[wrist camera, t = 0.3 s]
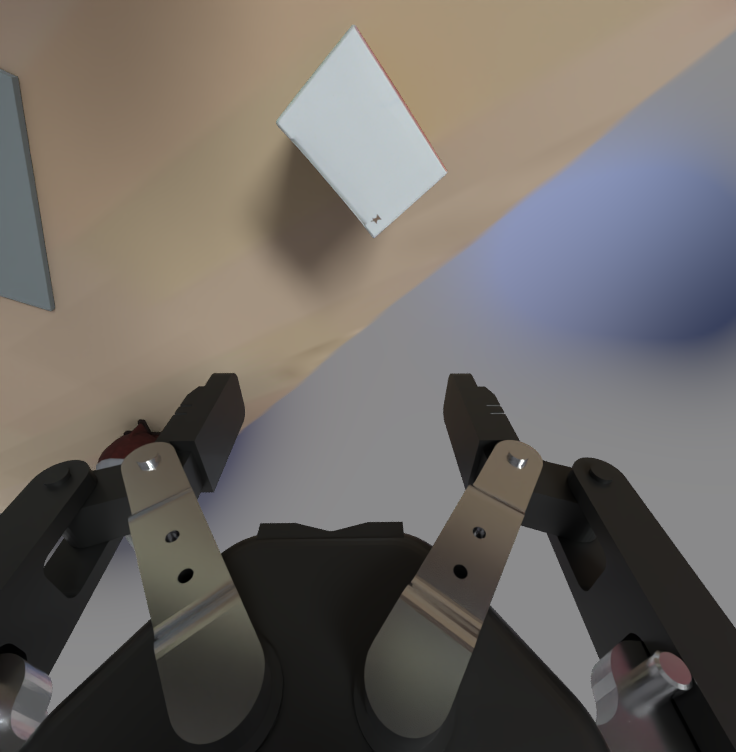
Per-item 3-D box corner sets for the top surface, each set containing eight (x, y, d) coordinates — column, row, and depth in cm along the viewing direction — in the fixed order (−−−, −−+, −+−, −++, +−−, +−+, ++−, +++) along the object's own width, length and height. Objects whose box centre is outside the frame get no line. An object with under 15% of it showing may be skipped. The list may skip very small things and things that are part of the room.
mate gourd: (113, 416, 47) (36, 524, 36) (173, 419, 48) (116, 526, 36) (132, 448, 52) (70, 553, 41) (186, 451, 52) (139, 554, 41)
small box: (424, 145, 27) (452, 175, 19) (370, 196, 29) (375, 242, 21) (356, 36, 23) (355, 17, 15) (299, 106, 25) (273, 122, 17)
